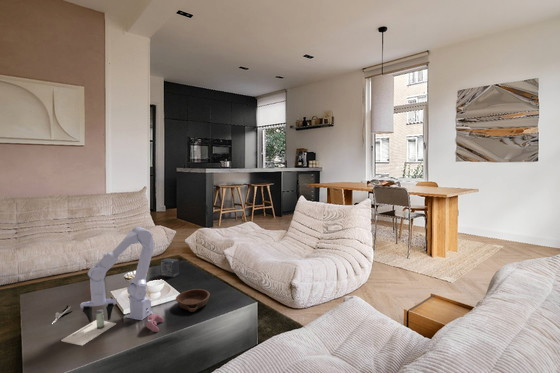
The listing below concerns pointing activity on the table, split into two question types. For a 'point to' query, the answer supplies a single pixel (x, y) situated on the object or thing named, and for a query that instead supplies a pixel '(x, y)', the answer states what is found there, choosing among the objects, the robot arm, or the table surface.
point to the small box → (169, 267)
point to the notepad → (87, 333)
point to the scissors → (58, 315)
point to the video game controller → (153, 322)
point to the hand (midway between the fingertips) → (100, 320)
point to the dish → (193, 299)
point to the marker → (100, 319)
